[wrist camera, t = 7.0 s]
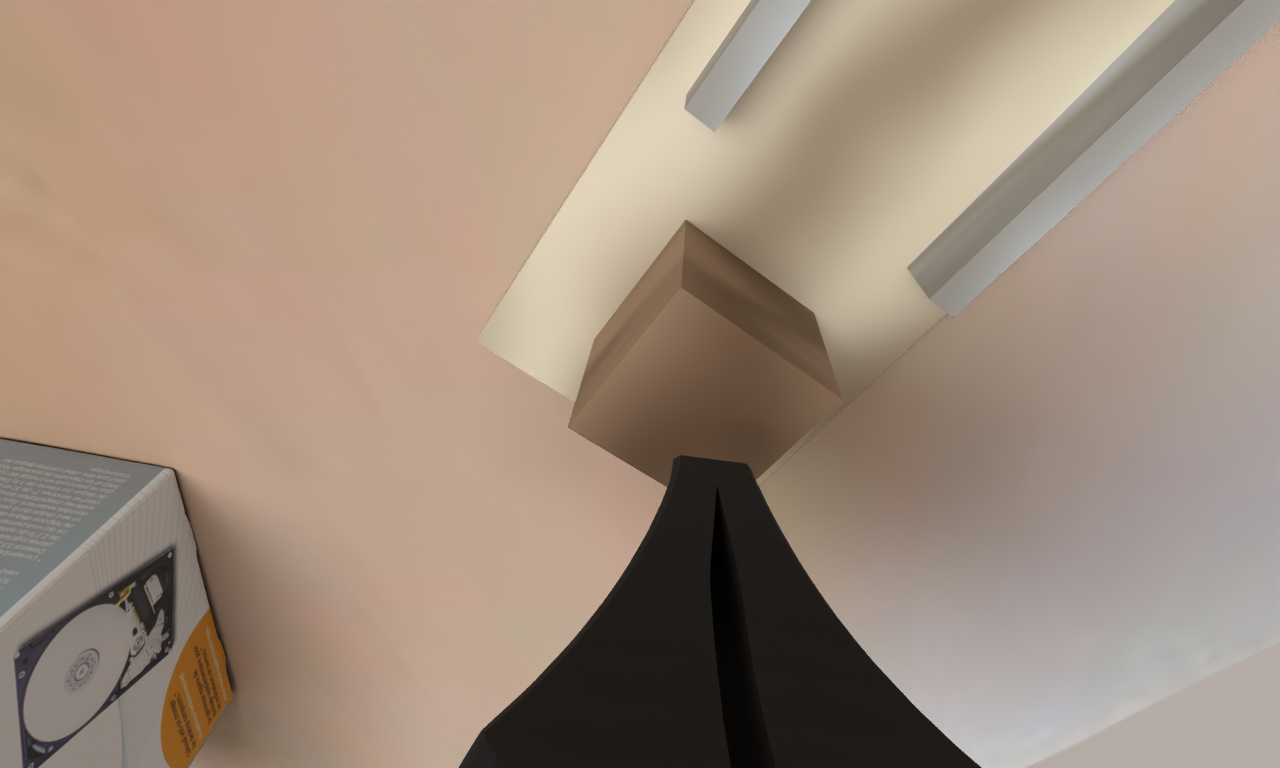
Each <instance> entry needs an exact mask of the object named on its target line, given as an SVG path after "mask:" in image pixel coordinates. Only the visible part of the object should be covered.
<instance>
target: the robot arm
mask: <svg viewBox="0 0 1280 768" xmlns="http://www.w3.org/2000/svg"><path fill="white" fill-rule="evenodd" d="M459 768H981V767H980V766H979V765H978V764H977V763H975V762H974V761H973V760H972V759H971V758H970V757H968V756H967V755H966V754H965V753H964V752H963V751H961V750H960V749H959V748H958V747H957V746H956V745H955V744H954V743H953V742H952V741H951V740H950V739H948V738H947V737H946V736H945V735H944V734H943V733H942V732H941V731H940V730H939V729H938V728H937V727H936V726H935V725H934V724H933V723H932V722H931V721H930V720H929V719H928V718H926V717H925V716H924V715H923V714H922V713H921V712H920V711H919V710H918V709H917V708H916V707H915V706H914V705H913V704H912V703H911V702H910V701H909V700H908V698H907V697H906V696H905V695H904V694H903V693H902V692H901V691H900V690H899V689H898V688H897V687H896V686H895V684H894V683H893V682H892V681H891V680H890V679H889V678H888V677H887V676H886V675H885V674H884V673H883V672H882V671H881V669H880V668H879V667H878V666H877V665H876V664H875V663H874V662H873V661H872V660H871V658H870V657H869V656H868V655H867V654H866V652H865V651H864V650H863V649H862V648H861V646H860V645H859V644H858V643H857V642H856V640H855V639H854V638H853V637H852V635H851V634H850V633H849V632H848V630H847V629H846V628H845V626H844V625H843V624H842V623H841V621H840V620H839V619H838V617H837V616H836V615H835V613H834V612H833V611H832V609H831V608H830V607H829V605H828V604H827V602H826V601H825V599H824V598H823V597H822V595H821V594H820V592H819V591H818V589H817V588H816V586H815V585H814V583H813V582H812V580H811V579H810V577H809V576H808V574H807V573H806V571H805V570H804V568H803V566H802V565H801V563H800V562H799V560H798V558H797V557H796V555H795V553H794V552H793V550H792V548H791V547H790V545H789V543H788V541H787V540H786V538H785V536H784V534H783V533H782V531H781V529H780V527H779V526H778V524H777V522H776V520H775V518H774V516H773V514H772V512H771V510H770V508H769V506H768V505H767V503H766V501H765V499H764V496H763V494H762V492H761V490H760V488H759V486H758V484H757V481H756V479H755V477H754V475H753V472H752V470H751V468H750V467H749V466H748V465H747V464H746V463H739V462H731V461H723V460H715V459H708V458H700V457H692V456H685V455H679V456H678V457H676V458H674V459H673V464H672V470H671V477H670V481H669V484H668V487H667V490H666V492H665V495H664V498H663V500H662V503H661V505H660V507H659V509H658V511H657V513H656V516H655V518H654V520H653V522H652V524H651V526H650V528H649V530H648V532H647V534H646V536H645V537H644V539H643V541H642V543H641V544H640V546H639V548H638V550H637V551H636V553H635V555H634V556H633V558H632V560H631V562H630V563H629V565H628V567H627V568H626V570H625V571H624V573H623V574H622V576H621V577H620V579H619V580H618V582H617V583H616V585H615V586H614V588H613V589H612V590H611V592H610V593H609V595H608V596H607V597H606V599H605V600H604V602H603V603H602V604H601V606H600V607H599V608H598V609H597V611H596V612H595V613H594V614H593V616H592V617H591V618H590V620H589V621H588V622H587V623H586V625H585V626H584V627H583V628H582V630H581V631H580V632H579V633H578V634H577V636H576V637H575V638H574V639H573V640H572V641H571V643H570V644H569V645H568V646H567V647H566V648H565V649H564V650H563V651H562V652H561V653H560V655H559V656H558V657H557V658H556V659H555V660H554V661H553V662H552V663H551V664H550V665H549V666H548V667H547V668H546V669H545V671H544V672H543V673H542V674H541V675H540V676H539V677H538V678H537V679H536V680H535V681H534V682H533V683H532V684H531V685H530V686H529V687H528V688H527V689H526V690H525V691H524V692H523V693H522V694H521V695H520V696H519V697H517V698H516V699H515V700H514V701H513V702H512V703H511V704H510V705H509V706H508V707H506V708H505V709H504V710H503V711H502V712H501V713H500V714H499V715H498V716H497V717H496V718H494V719H493V720H492V721H491V722H490V723H489V724H488V725H487V726H486V727H485V728H484V729H483V730H482V731H481V732H480V734H479V735H478V737H477V738H476V740H475V742H474V743H473V745H472V746H471V748H470V750H469V751H468V753H467V755H466V756H465V758H464V759H463V761H462V763H461V765H460V766H459Z"/></svg>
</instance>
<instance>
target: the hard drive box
mask: <svg viewBox="0 0 1280 768" xmlns="http://www.w3.org/2000/svg"><path fill="white" fill-rule="evenodd" d="M196 553H197V548H196V543H195V540H194V536H193V532H192V529H191V526H190V522H189V521H188V519H187V517H186V515H185V510H184V506H183V502H182V499H181V495H180V492H179V488H178V484H177V481H176V477H175V473H174V470H172V469H170V468H165V467H159V466H154V465H148V464H142V463H136V462H130V461H124V460H119V459H113V458H108V457H102V456H97V455H91V454H86V453H80V452H74V451H69V450H63V449H57V448H52V447H45V446H39V445H33V444H28V443H22V442H16V441H11V440H5V439H0V768H188V767H189V766H190V765H191V763H192V762H193V760H194V758H195V756H196V755H197V753H198V752H199V750H200V749H201V747H202V746H203V744H204V743H205V741H206V740H207V738H208V736H209V735H210V733H211V732H212V730H213V729H214V727H215V726H216V724H217V722H218V721H219V719H220V718H221V716H222V715H223V713H224V711H225V710H226V708H227V707H228V705H229V704H230V702H231V701H232V699H233V694H232V691H231V687H230V683H229V679H228V675H227V671H226V657H225V653H224V650H223V647H222V643H221V641H220V640H219V639H218V635H217V632H216V629H215V625H214V621H213V617H212V614H211V610H210V606H209V604H208V599H207V596H206V591H205V588H204V583H203V579H202V575H201V571H200V568H199V564H198V560H197V555H196Z"/></svg>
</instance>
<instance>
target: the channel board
mask: <svg viewBox="0 0 1280 768" xmlns="http://www.w3.org/2000/svg"><path fill="white" fill-rule="evenodd" d="M1278 21H1280V0H694V1H693V3H692V4H691V6H690V7H689V9H688V11H687V12H686V14H685V15H684V17H683V18H682V20H681V21H680V23H679V25H678V26H677V28H676V29H675V31H674V32H673V34H672V35H671V37H670V38H669V40H668V42H667V43H666V45H665V46H664V48H663V49H662V51H661V52H660V54H659V56H658V57H657V59H656V60H655V62H654V63H653V65H652V66H651V68H650V70H649V71H648V73H647V74H646V76H645V77H644V79H643V80H642V82H641V84H640V85H639V87H638V88H637V90H636V91H635V93H634V94H633V96H632V98H631V99H630V101H629V102H628V104H627V105H626V107H625V108H624V110H623V112H622V113H621V115H620V116H619V118H618V119H617V121H616V122H615V124H614V126H613V127H612V129H611V130H610V132H609V133H608V135H607V136H606V138H605V140H604V141H603V143H602V144H601V146H600V147H599V149H598V150H597V152H596V154H595V155H594V157H593V158H592V160H591V161H590V163H589V164H588V166H587V168H586V169H585V171H584V172H583V174H582V175H581V177H580V178H579V180H578V182H577V183H576V185H575V186H574V188H573V189H572V191H571V192H570V194H569V196H568V197H567V199H566V200H565V202H564V203H563V205H562V206H561V208H560V210H559V211H558V213H557V214H556V216H555V217H554V219H553V220H552V222H551V224H550V225H549V227H548V228H547V230H546V231H545V233H544V234H543V236H542V238H541V239H540V241H539V242H538V244H537V245H536V247H535V248H534V250H533V252H532V253H531V255H530V256H529V258H528V259H527V261H526V262H525V264H524V266H523V267H522V269H521V270H520V272H519V273H518V275H517V276H516V278H515V280H514V281H513V283H512V284H511V286H510V287H509V289H508V290H507V292H506V294H505V295H504V297H503V298H502V300H501V301H500V303H499V304H498V306H497V308H496V309H495V311H494V312H493V314H492V315H491V317H490V319H489V320H488V322H487V323H486V325H485V327H484V328H483V330H482V331H481V333H480V335H479V336H478V338H477V339H476V341H475V342H477V343H478V344H480V345H482V346H483V347H485V348H486V349H488V350H490V351H491V352H493V353H495V354H496V355H498V356H500V357H501V358H503V359H504V360H506V361H508V362H509V363H511V364H513V365H514V366H516V367H518V368H519V369H521V370H522V371H524V372H526V373H527V374H529V375H531V376H532V377H534V378H535V379H537V380H539V381H540V382H542V383H544V384H545V385H547V386H549V387H550V388H552V389H553V390H555V391H557V392H558V393H560V394H562V395H563V396H565V397H567V398H568V399H570V400H571V401H573V402H576V398H577V395H578V392H579V388H580V385H581V382H582V378H583V375H584V371H585V368H586V365H587V361H588V358H589V355H590V351H591V348H592V345H593V341H594V339H595V338H596V336H597V335H598V334H599V332H600V331H601V330H602V328H603V327H604V326H605V324H606V323H607V322H608V321H609V319H610V318H611V317H612V315H613V314H614V313H615V311H616V310H617V309H618V307H619V306H620V305H621V304H622V302H623V301H624V300H625V298H626V297H627V296H628V294H629V293H630V292H631V290H632V289H633V288H634V287H635V285H636V284H637V283H638V281H639V280H640V279H641V277H642V276H643V275H644V273H645V272H646V271H647V269H648V268H649V267H650V266H651V264H652V263H653V262H654V260H655V259H656V258H657V256H658V255H659V254H660V252H661V251H662V250H663V249H664V247H665V246H666V245H667V243H668V242H669V241H670V239H671V238H672V237H673V235H674V234H675V233H676V231H677V230H678V229H679V228H680V226H681V225H682V224H683V222H684V221H685V220H687V221H689V222H690V223H691V224H693V225H694V226H696V227H697V228H698V229H700V230H701V231H702V232H704V233H705V234H707V235H708V236H709V237H711V238H712V239H713V240H715V241H716V242H717V243H719V244H720V245H722V246H723V247H724V248H726V249H727V250H728V251H730V252H731V253H733V254H734V255H735V256H737V257H738V258H739V259H741V260H742V261H744V262H745V263H746V264H748V265H749V266H750V267H752V268H753V269H755V270H756V271H757V272H759V273H760V274H761V275H763V276H764V277H766V278H767V279H768V280H770V281H771V282H772V283H774V284H775V285H777V286H778V287H779V288H781V289H782V290H783V291H785V292H786V293H787V294H789V295H790V296H792V297H793V298H794V299H796V300H797V301H798V302H800V303H801V304H803V305H804V306H805V307H807V308H808V309H809V310H811V311H812V312H814V314H815V317H816V320H817V323H818V327H819V330H820V333H821V336H822V339H823V342H824V345H825V348H826V351H827V354H828V357H829V360H830V363H831V366H832V369H833V372H834V375H835V378H836V381H837V384H838V387H839V390H840V393H841V396H842V399H843V400H842V401H841V402H840V403H839V404H838V405H837V406H836V407H834V408H833V409H832V410H831V411H830V412H829V413H828V414H827V415H826V416H825V417H824V418H823V419H822V420H820V421H819V422H818V423H817V424H816V425H815V426H814V427H813V428H812V429H811V430H810V431H809V432H808V433H806V434H805V435H804V436H803V437H802V438H801V439H800V440H799V441H798V442H797V443H796V444H795V445H793V446H792V447H791V448H790V449H789V450H788V451H787V452H786V453H785V454H784V455H783V456H782V457H781V458H779V459H778V460H777V461H776V462H775V463H774V464H773V465H772V466H771V467H770V468H769V469H768V470H767V471H765V472H764V473H763V474H762V475H761V476H760V477H759V478H758V479H757V480H756V481H757V484H758V486H759V485H761V484H762V483H763V482H764V481H765V480H766V479H767V478H768V477H769V476H770V475H771V474H773V473H774V472H775V471H776V470H777V469H778V468H779V467H780V466H781V465H782V464H783V463H784V462H786V461H787V460H788V459H789V458H790V457H791V456H792V455H793V454H794V453H795V452H796V451H798V450H799V449H800V448H801V447H802V446H803V445H804V444H805V443H806V442H807V441H808V440H809V439H811V438H812V437H813V436H814V435H815V434H816V433H817V432H818V431H819V430H820V429H821V428H823V427H824V426H825V425H826V424H827V423H828V422H829V421H830V420H831V419H832V418H833V417H834V416H836V415H837V414H838V413H839V412H840V411H841V410H842V409H843V408H844V407H845V406H846V405H848V404H849V403H850V402H851V401H852V400H853V399H854V398H855V397H856V396H857V395H858V394H860V393H861V392H862V391H863V390H864V389H865V388H866V387H867V386H868V385H869V384H870V383H871V382H873V381H874V380H875V379H876V378H877V377H878V376H879V375H880V374H881V373H882V372H883V371H885V370H886V369H887V368H888V367H889V366H890V365H891V364H892V363H893V362H894V361H895V360H896V359H898V358H899V357H900V356H901V355H902V354H903V353H904V352H905V351H906V350H907V349H908V348H910V347H911V346H912V345H913V344H914V343H915V342H916V341H917V340H918V339H919V338H920V337H921V336H923V335H924V334H925V333H926V332H927V331H928V330H929V329H930V328H931V327H932V326H933V325H935V324H936V323H937V322H938V321H939V320H940V319H941V318H942V317H943V316H944V315H945V314H949V315H950V316H951V317H954V316H956V315H957V314H958V313H959V312H960V311H961V310H962V309H963V308H964V307H965V306H967V305H968V304H969V303H970V302H971V301H972V300H973V299H974V298H975V297H976V296H977V295H979V294H980V293H981V292H982V291H983V290H984V289H985V288H986V287H987V286H988V285H990V284H991V283H992V282H993V281H994V280H995V279H996V278H997V277H998V276H999V275H1001V274H1002V273H1003V272H1004V271H1005V270H1006V269H1007V268H1008V267H1009V266H1010V265H1012V264H1013V263H1014V262H1015V261H1016V260H1017V259H1018V258H1019V257H1020V256H1021V255H1023V254H1024V253H1025V252H1026V251H1027V250H1028V249H1029V248H1030V247H1031V246H1032V245H1034V244H1035V243H1036V242H1037V241H1038V240H1039V239H1040V238H1041V237H1042V236H1043V235H1045V234H1046V233H1047V232H1048V231H1049V230H1050V229H1051V228H1052V227H1053V226H1054V225H1055V224H1057V223H1058V222H1059V221H1060V220H1061V219H1062V218H1063V217H1064V216H1065V215H1066V214H1068V213H1069V212H1070V211H1071V210H1072V209H1073V208H1074V207H1075V206H1076V205H1077V204H1079V203H1080V202H1081V201H1082V200H1083V199H1084V198H1085V197H1086V196H1087V195H1088V194H1090V193H1091V192H1092V191H1093V190H1094V189H1095V188H1096V187H1097V186H1098V185H1099V184H1101V183H1102V182H1103V181H1104V180H1105V179H1106V178H1107V177H1108V176H1109V175H1110V174H1112V173H1113V172H1114V171H1115V170H1116V169H1117V168H1118V167H1119V166H1120V165H1121V164H1122V163H1124V162H1125V161H1126V160H1127V159H1128V158H1129V157H1130V156H1131V155H1132V154H1133V153H1135V152H1136V151H1137V150H1138V149H1139V148H1140V147H1141V146H1142V145H1143V144H1144V143H1146V142H1147V141H1148V140H1149V139H1150V138H1151V137H1152V136H1153V135H1154V134H1155V133H1157V132H1158V131H1159V130H1160V129H1161V128H1162V127H1163V126H1164V125H1165V124H1166V123H1168V122H1169V121H1170V120H1171V119H1172V118H1173V117H1174V116H1175V115H1176V114H1177V113H1179V112H1180V111H1181V110H1182V109H1183V108H1184V107H1185V106H1186V105H1187V104H1188V103H1190V102H1191V101H1192V100H1193V99H1194V98H1195V97H1196V96H1197V95H1198V94H1199V93H1200V92H1202V91H1203V90H1204V89H1205V88H1206V87H1207V86H1208V85H1209V84H1210V83H1211V82H1213V81H1214V80H1215V79H1216V78H1217V77H1218V76H1219V75H1220V74H1221V73H1222V72H1224V71H1225V70H1226V69H1227V68H1228V67H1229V66H1230V65H1231V64H1232V63H1233V62H1235V61H1236V60H1237V59H1238V58H1239V57H1240V56H1241V55H1242V54H1243V53H1244V52H1246V51H1247V50H1248V49H1249V48H1250V47H1251V46H1252V45H1253V44H1254V43H1255V42H1257V41H1258V40H1259V39H1260V38H1261V37H1262V36H1263V35H1264V34H1265V33H1266V32H1267V31H1269V30H1270V29H1271V28H1272V27H1273V26H1274V25H1275V24H1276V23H1277V22H1278Z"/></svg>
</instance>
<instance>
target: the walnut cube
mask: <svg viewBox="0 0 1280 768" xmlns="http://www.w3.org/2000/svg"><path fill="white" fill-rule="evenodd" d="M842 400H843V399H842V396H841V393H840V390H839V387H838V384H837V381H836V378H835V375H834V372H833V369H832V366H831V363H830V360H829V357H828V354H827V351H826V348H825V345H824V342H823V339H822V336H821V333H820V330H819V327H818V323H817V320H816V317H815V314H814V312H812V311H811V310H809V309H808V308H807V307H805V306H804V305H803V304H801V303H800V302H798V301H797V300H796V299H794V298H793V297H792V296H790V295H789V294H787V293H786V292H785V291H783V290H782V289H781V288H779V287H778V286H777V285H775V284H774V283H772V282H771V281H770V280H768V279H767V278H766V277H764V276H763V275H761V274H760V273H759V272H757V271H756V270H755V269H753V268H752V267H750V266H749V265H748V264H746V263H745V262H744V261H742V260H741V259H739V258H738V257H737V256H735V255H734V254H733V253H731V252H730V251H728V250H727V249H726V248H724V247H723V246H722V245H720V244H719V243H717V242H716V241H715V240H713V239H712V238H711V237H709V236H708V235H707V234H705V233H704V232H702V231H701V230H700V229H698V228H697V227H696V226H694V225H693V224H691V223H690V222H689V221H687V220H685V221H684V222H683V224H682V225H681V226H680V228H679V229H678V230H677V231H676V233H675V234H674V235H673V237H672V238H671V239H670V241H669V242H668V243H667V245H666V246H665V247H664V249H663V250H662V251H661V252H660V254H659V255H658V256H657V258H656V259H655V260H654V262H653V263H652V264H651V266H650V267H649V268H648V269H647V271H646V272H645V273H644V275H643V276H642V277H641V279H640V280H639V281H638V283H637V284H636V285H635V287H634V288H633V289H632V290H631V292H630V293H629V294H628V296H627V297H626V298H625V300H624V301H623V302H622V304H621V305H620V306H619V307H618V309H617V310H616V311H615V313H614V314H613V315H612V317H611V318H610V319H609V321H608V322H607V323H606V324H605V326H604V327H603V328H602V330H601V331H600V332H599V334H598V335H597V336H596V338H595V339H594V341H593V345H592V348H591V351H590V355H589V358H588V361H587V365H586V368H585V371H584V375H583V378H582V382H581V385H580V388H579V392H578V395H577V398H576V402H575V405H574V408H573V412H572V415H571V418H570V422H569V425H568V428H570V429H571V430H573V431H575V432H576V433H578V434H580V435H581V436H583V437H585V438H586V439H588V440H590V441H591V442H593V443H595V444H596V445H598V446H600V447H601V448H603V449H605V450H606V451H608V452H610V453H611V454H613V455H615V456H616V457H618V458H620V459H621V460H623V461H625V462H626V463H628V464H630V465H631V466H633V467H635V468H636V469H638V470H640V471H641V472H643V473H645V474H646V475H648V476H650V477H651V478H653V479H655V480H656V481H658V482H660V483H661V484H663V485H665V486H666V487H668V484H669V481H670V477H671V470H672V464H673V459H674V458H676V457H678V456H679V455H685V456H692V457H700V458H708V459H715V460H723V461H731V462H739V463H746V464H747V465H748V466H749V467H750V468H751V470H752V472H753V475H754V477H755V479H756V480H757V479H758V478H759V477H760V476H761V475H762V474H763V473H764V472H765V471H767V470H768V469H769V468H770V467H771V466H772V465H773V464H774V463H775V462H776V461H777V460H778V459H779V458H781V457H782V456H783V455H784V454H785V453H786V452H787V451H788V450H789V449H790V448H791V447H792V446H793V445H795V444H796V443H797V442H798V441H799V440H800V439H801V438H802V437H803V436H804V435H805V434H806V433H808V432H809V431H810V430H811V429H812V428H813V427H814V426H815V425H816V424H817V423H818V422H819V421H820V420H822V419H823V418H824V417H825V416H826V415H827V414H828V413H829V412H830V411H831V410H832V409H833V408H834V407H836V406H837V405H838V404H839V403H840V402H841V401H842Z"/></svg>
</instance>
